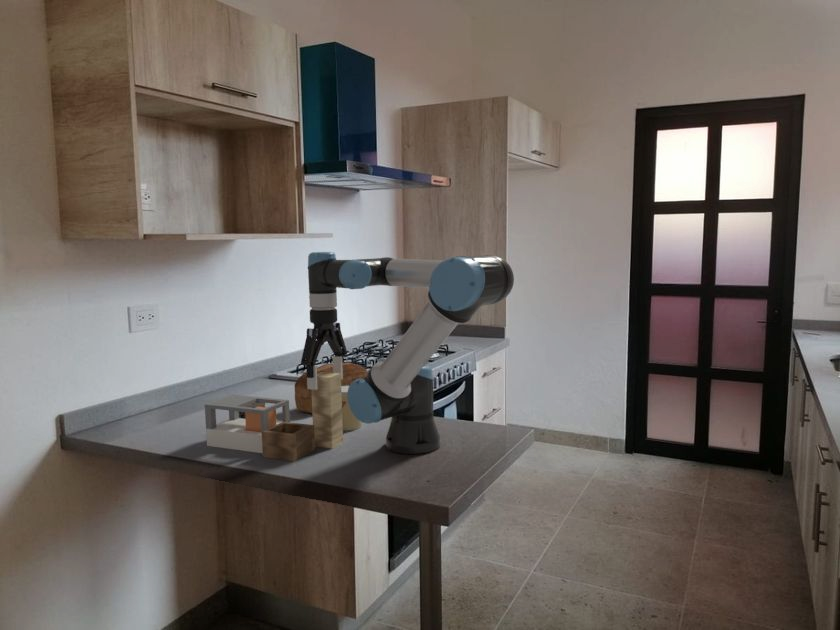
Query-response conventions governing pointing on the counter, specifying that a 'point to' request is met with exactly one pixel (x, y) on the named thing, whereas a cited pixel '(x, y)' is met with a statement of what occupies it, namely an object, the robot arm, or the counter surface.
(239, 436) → the grey frame
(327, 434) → the tan wooden block
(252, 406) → the electrical switch
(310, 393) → the bread
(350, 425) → the coffee cup
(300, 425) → the holder
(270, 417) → the orange cube
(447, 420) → the counter surface
